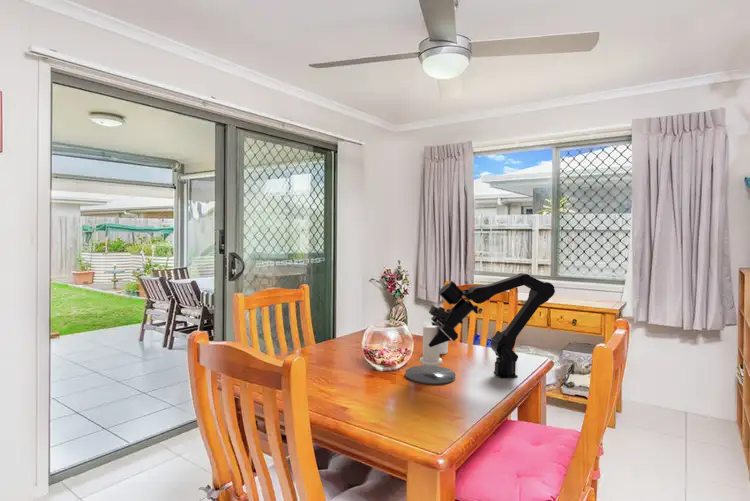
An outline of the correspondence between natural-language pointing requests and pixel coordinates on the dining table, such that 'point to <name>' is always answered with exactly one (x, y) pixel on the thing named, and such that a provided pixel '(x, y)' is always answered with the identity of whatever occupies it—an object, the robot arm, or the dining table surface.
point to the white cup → (443, 348)
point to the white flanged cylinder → (429, 352)
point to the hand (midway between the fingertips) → (427, 343)
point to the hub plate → (430, 375)
